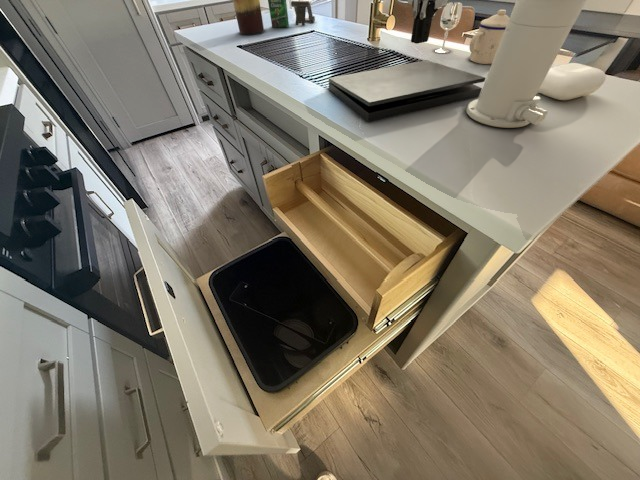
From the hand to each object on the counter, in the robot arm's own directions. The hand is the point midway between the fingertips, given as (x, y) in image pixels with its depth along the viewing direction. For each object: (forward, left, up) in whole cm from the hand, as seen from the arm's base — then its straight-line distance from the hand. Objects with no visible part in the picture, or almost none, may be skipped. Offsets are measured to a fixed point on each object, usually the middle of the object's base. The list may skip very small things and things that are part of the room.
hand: (419, 41), depth 57 cm
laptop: (+3, 0, -11) cm, 11 cm away
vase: (+93, +18, -11) cm, 95 cm away
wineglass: (+27, -32, -11) cm, 43 cm away
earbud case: (-15, -32, -11) cm, 37 cm away
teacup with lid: (+13, -35, -11) cm, 39 cm away
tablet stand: (+97, -8, -11) cm, 98 cm away
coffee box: (+96, +4, -11) cm, 97 cm away
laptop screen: (+3, 0, -8) cm, 9 cm away
